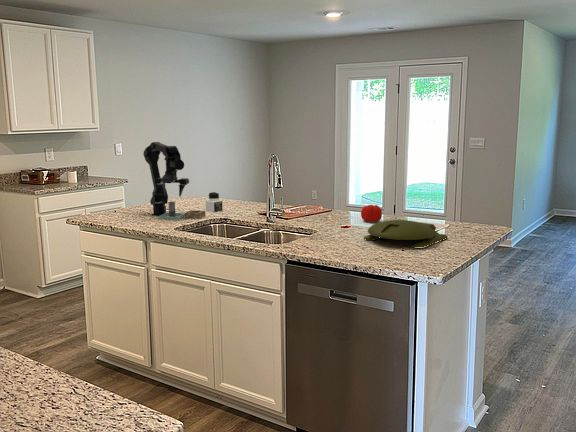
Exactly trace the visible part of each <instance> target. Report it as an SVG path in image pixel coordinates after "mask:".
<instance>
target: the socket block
mask: <svg viewBox="0 0 576 432" xmlns="http://www.w3.org/2000/svg"><path fill="white" fill-rule="evenodd" d="M204 217H206V210H193V209H192V210H188V211H186V212H185V217H184V219H188V220H189V219H192V220H196V219H197V220H201V219H203V218H204Z"/></svg>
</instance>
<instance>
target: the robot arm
mask: <svg viewBox="0 0 576 432" xmlns="http://www.w3.org/2000/svg"><path fill="white" fill-rule="evenodd" d="M161 153H162V155H163V156H164V158H163V159H164V161H165V172H164V175H163V176H162V177H161V175H160V174H161V173H160V169H159V161H160V160H159V159H160V154H161ZM142 154H143V155H142V156H143V157H144V160H145V162H146V163H147V164H148V166H149V170H150V174H151V180H152V184H153V185H152V186H153V191H152V192H151V194H152V196H151V198H150V201H149V202H150V205H151V206H152V210H153V213H152V214H151V215H152V216H160V215H162V214H164V213H167V206H166V205H167V204H168V202H169V201H168V200H169V195H168V191H167V188H166V184H172V183H175V184H176V183H177V184H178V187H179V188H178V190H179V191H178V196H179V197H182V193H183V191H184V189H185V187H186V186H187V185H188V184H190V179H189V178H187V177H186V178H184V177H182V178H179V179H178V176H177V173H178V171H181V170H183V169H184V167H185V163H184V161H183V160H182V157H181V153H180V151H179V148H178V147H177V146H176V145H167V144H165V143H164V144H163V143H161V142H160V141H156V142H155V141H153V142H151V143H150V144H149V145H148V146H147V147H145V149H144V151H143V153H142Z"/></svg>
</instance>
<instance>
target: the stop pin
mask: <svg viewBox="0 0 576 432" xmlns="http://www.w3.org/2000/svg"><path fill="white" fill-rule="evenodd" d="M167 204H168V213H169V216H170V217H176V216H175V213H176V201H168V202H167Z"/></svg>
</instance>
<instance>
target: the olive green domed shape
mask: <svg viewBox="0 0 576 432" xmlns="http://www.w3.org/2000/svg"><path fill="white" fill-rule="evenodd" d="M367 234H368V235H365V236H363V240H364V239H366V240H373V239H376V240H378V239H377V238H379V237H381V238H379V239H387V240H398V241H401V240H402V241H412V240H421V241H419V242H416V243H414V244H413V245H412V247H413V246H414V247H424V246H427V245H430V244H432V243H435V242H437V241H440V240H443V239H445V238H447V237H448V235H447V234H443V233H439V232H437V227H436V226H435V224H434V223H425V222H421V221H420V222H419V221H413V220H409V219H408V220H406V219H392V220H391V219H389V220H383V221H378V222H375V223H373V224H372V225H371V226H369V228H368V229H367ZM447 239H448V238H447ZM366 240H365V241H366ZM445 240H446V239H445ZM373 241H374V240H373ZM443 241H444V240H443ZM440 242H441V241H440ZM414 247H413V248H414Z"/></svg>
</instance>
